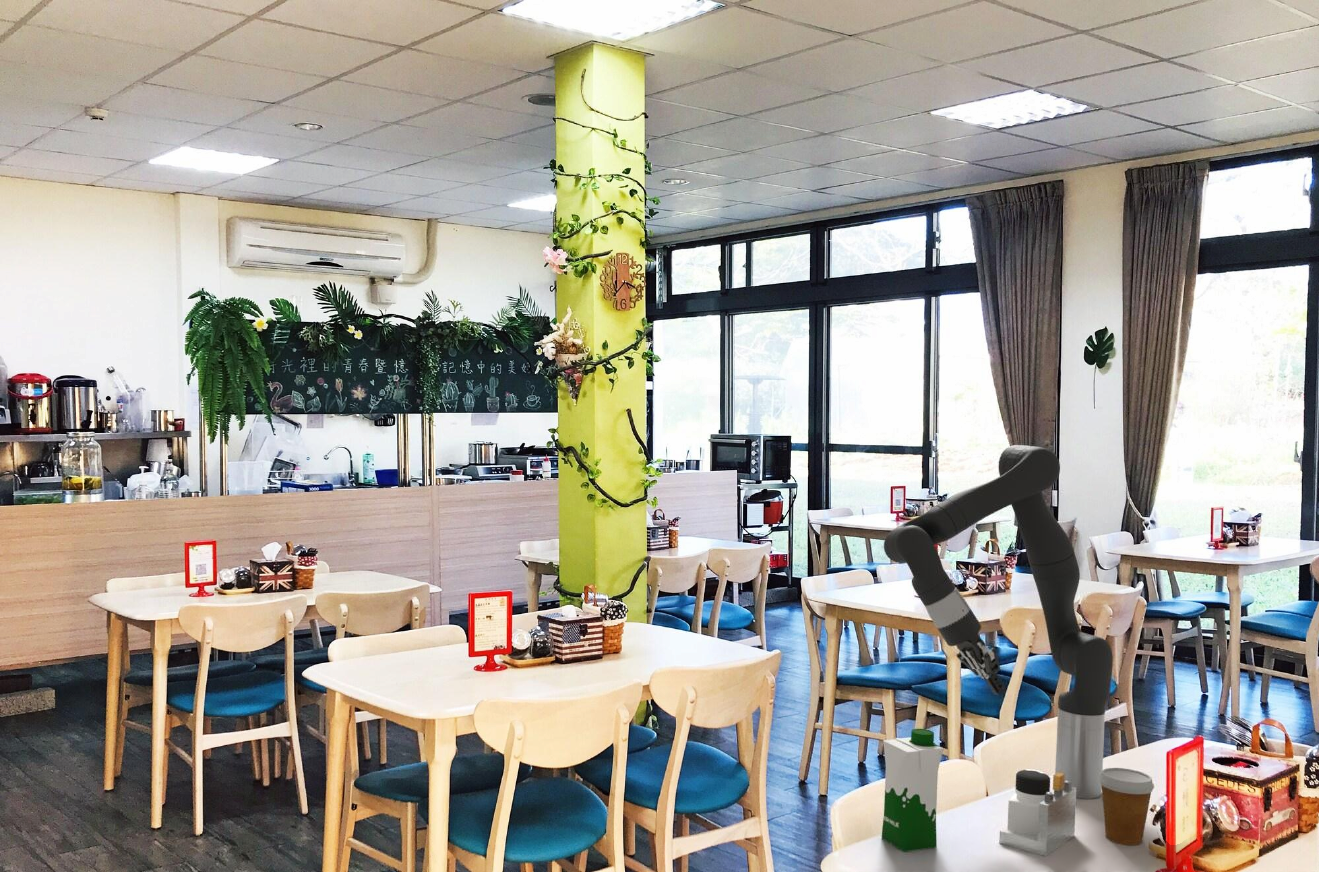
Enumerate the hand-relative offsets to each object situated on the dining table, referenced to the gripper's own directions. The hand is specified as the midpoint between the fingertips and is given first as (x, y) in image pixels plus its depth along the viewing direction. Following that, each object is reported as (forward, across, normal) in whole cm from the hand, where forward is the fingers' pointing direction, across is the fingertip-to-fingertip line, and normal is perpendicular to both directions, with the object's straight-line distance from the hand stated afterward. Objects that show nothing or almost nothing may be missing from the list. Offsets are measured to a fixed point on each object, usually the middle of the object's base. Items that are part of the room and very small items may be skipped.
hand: (1000, 692), depth 219 cm
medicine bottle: (+23, -6, +13) cm, 27 cm away
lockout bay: (+23, -7, +13) cm, 27 cm away
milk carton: (+10, -6, +34) cm, 36 cm away
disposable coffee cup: (+32, -9, -1) cm, 34 cm away
